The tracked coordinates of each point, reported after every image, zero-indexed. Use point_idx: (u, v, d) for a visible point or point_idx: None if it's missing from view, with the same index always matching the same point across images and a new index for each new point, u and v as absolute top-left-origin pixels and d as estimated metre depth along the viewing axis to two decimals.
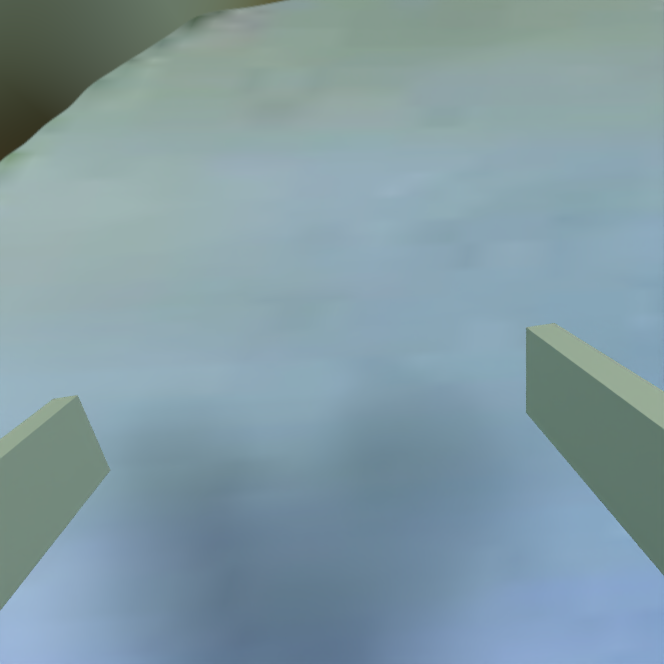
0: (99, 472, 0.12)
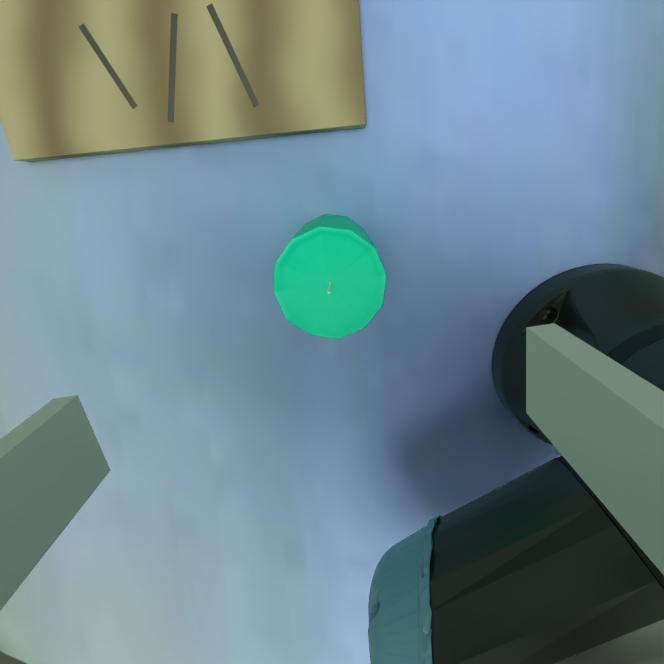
0: (99, 472, 0.12)
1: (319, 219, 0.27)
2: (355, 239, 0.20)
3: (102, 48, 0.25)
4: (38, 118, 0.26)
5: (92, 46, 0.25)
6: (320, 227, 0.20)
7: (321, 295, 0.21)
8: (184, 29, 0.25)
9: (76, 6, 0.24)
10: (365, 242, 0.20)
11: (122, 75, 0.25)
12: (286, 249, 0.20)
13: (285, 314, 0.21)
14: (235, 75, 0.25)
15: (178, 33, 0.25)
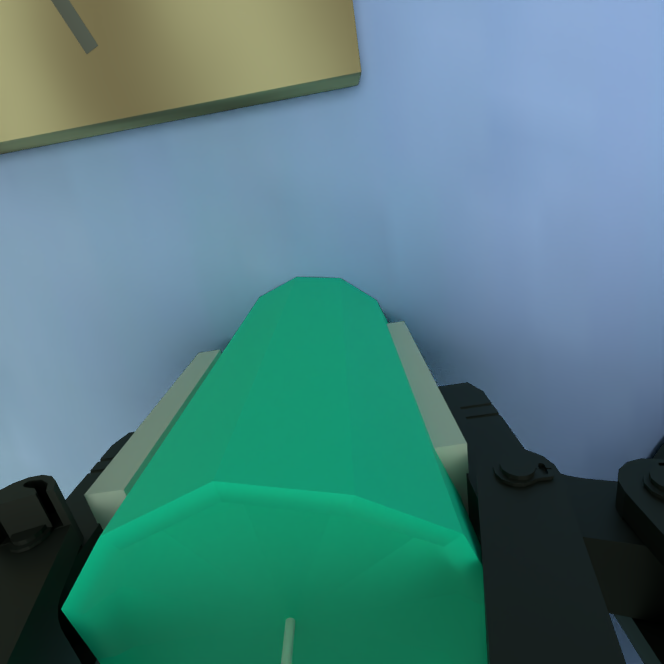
0: None
1: (275, 307, 0.11)
2: (376, 521, 0.04)
3: None
4: None
5: None
6: (218, 482, 0.04)
7: (265, 652, 0.06)
8: None
9: None
10: (421, 522, 0.05)
11: None
12: (90, 566, 0.05)
13: None
14: None
15: None
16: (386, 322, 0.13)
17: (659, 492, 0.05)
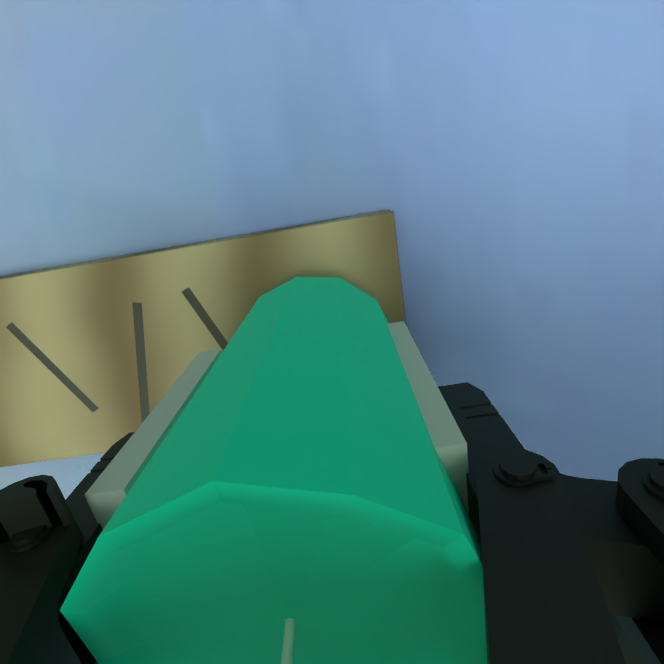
0: None
1: (275, 307, 0.11)
2: (376, 521, 0.04)
3: (42, 348, 0.18)
4: None
5: (28, 346, 0.18)
6: (217, 482, 0.04)
7: (266, 653, 0.06)
8: (153, 320, 0.17)
9: None
10: (421, 522, 0.05)
11: (73, 376, 0.18)
12: (89, 567, 0.05)
13: None
14: None
15: (145, 324, 0.17)
16: (386, 322, 0.13)
17: (659, 492, 0.05)
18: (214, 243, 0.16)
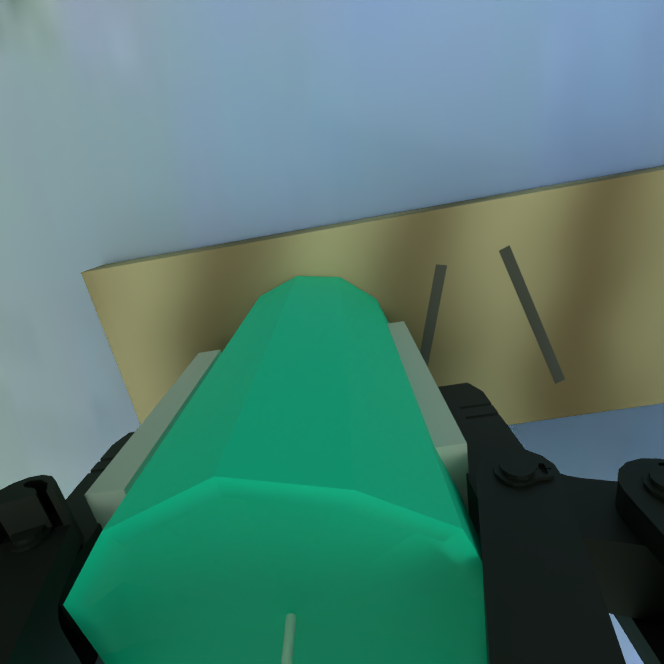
0: None
1: (275, 306, 0.11)
2: (375, 515, 0.04)
3: None
4: None
5: None
6: (219, 477, 0.04)
7: (266, 648, 0.06)
8: (455, 286, 0.14)
9: (274, 267, 0.14)
10: (420, 517, 0.05)
11: None
12: (92, 562, 0.05)
13: None
14: (532, 343, 0.15)
15: (444, 292, 0.15)
16: (386, 321, 0.13)
17: (658, 492, 0.05)
18: (554, 190, 0.13)
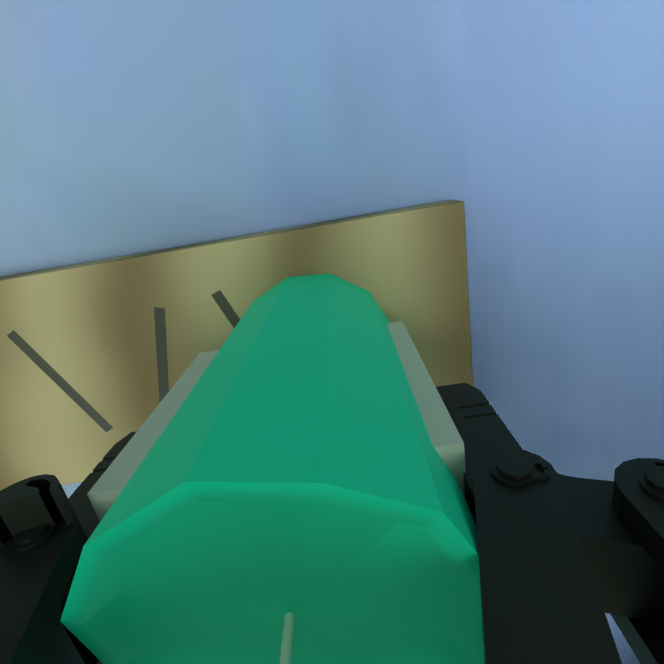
0: None
1: (264, 309, 0.11)
2: (350, 507, 0.04)
3: (48, 360, 0.15)
4: None
5: (32, 357, 0.16)
6: (190, 482, 0.04)
7: (270, 649, 0.06)
8: (177, 327, 0.15)
9: None
10: (397, 504, 0.05)
11: (85, 392, 0.16)
12: (80, 576, 0.05)
13: None
14: None
15: (168, 333, 0.15)
16: (380, 312, 0.13)
17: (655, 492, 0.05)
18: (251, 238, 0.14)
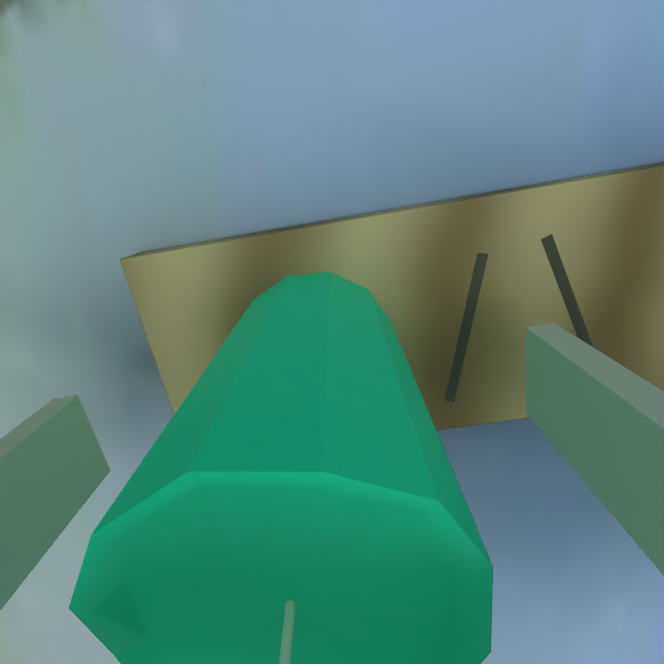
0: (99, 472, 0.12)
1: (265, 306, 0.11)
2: (347, 495, 0.05)
3: None
4: None
5: None
6: (194, 472, 0.05)
7: (272, 636, 0.06)
8: (496, 275, 0.14)
9: (315, 255, 0.14)
10: (394, 492, 0.05)
11: None
12: (88, 564, 0.05)
13: None
14: (571, 333, 0.15)
15: (484, 281, 0.14)
16: (379, 310, 0.13)
17: None
18: (599, 178, 0.13)
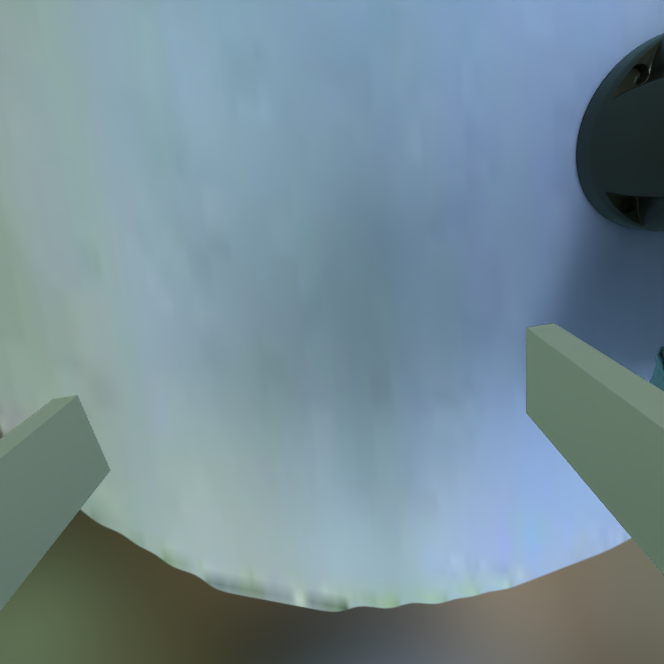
0: (99, 472, 0.12)
1: None
2: None
3: None
4: None
5: None
6: None
7: None
8: None
9: None
10: None
11: None
12: None
13: None
14: None
15: None
16: None
17: None
18: None
